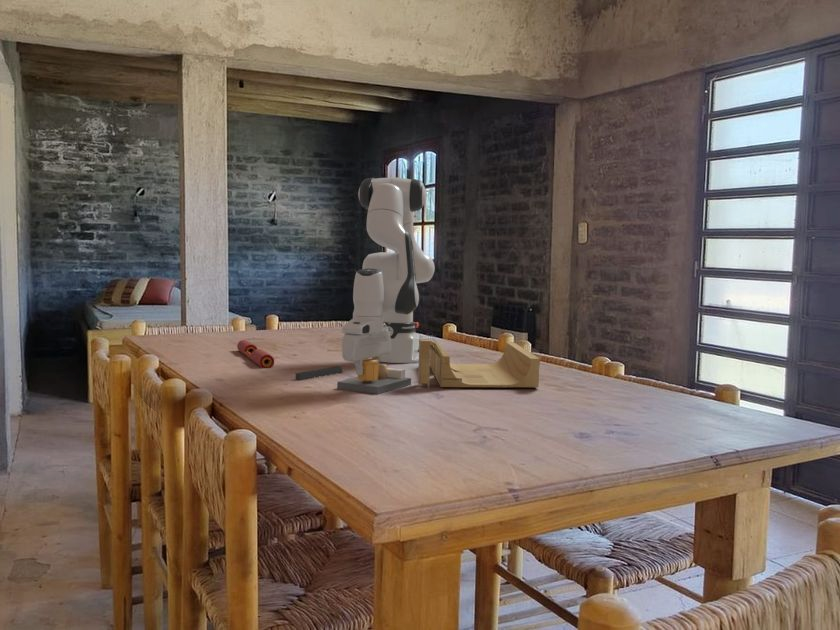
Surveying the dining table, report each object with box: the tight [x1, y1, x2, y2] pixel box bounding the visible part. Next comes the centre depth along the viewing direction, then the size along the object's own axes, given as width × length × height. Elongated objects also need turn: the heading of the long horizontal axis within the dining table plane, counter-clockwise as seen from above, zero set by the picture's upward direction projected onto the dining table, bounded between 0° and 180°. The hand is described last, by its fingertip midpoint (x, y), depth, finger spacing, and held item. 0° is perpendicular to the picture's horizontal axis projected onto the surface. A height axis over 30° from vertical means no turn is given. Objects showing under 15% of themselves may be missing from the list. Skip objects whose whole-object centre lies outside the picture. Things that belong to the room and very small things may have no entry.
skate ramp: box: [417, 332, 541, 389], centre depth 237 cm, size 40×35×16 cm
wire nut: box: [356, 358, 378, 381], centre depth 213 cm, size 6×6×6 cm
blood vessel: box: [236, 339, 275, 369], centre depth 265 cm, size 42×5×5 cm, turn 24°
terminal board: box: [336, 363, 412, 395], centre depth 217 cm, size 18×14×6 cm
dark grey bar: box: [295, 366, 343, 381], centre depth 233 cm, size 19×3×4 cm
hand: (367, 373), depth 213 cm, fingers closed on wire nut, 6 cm apart
